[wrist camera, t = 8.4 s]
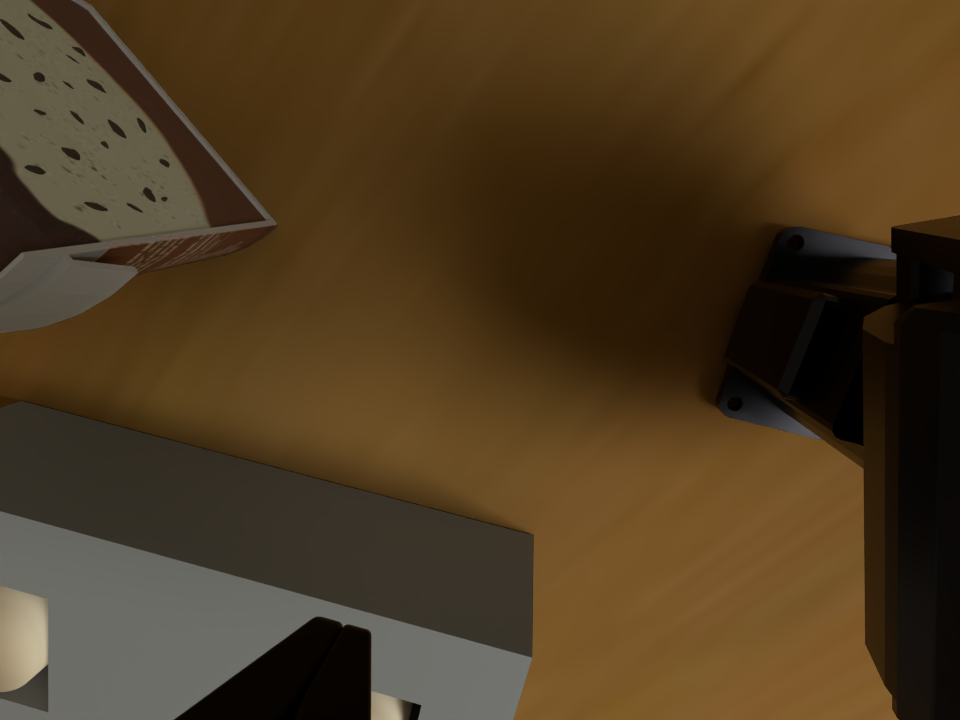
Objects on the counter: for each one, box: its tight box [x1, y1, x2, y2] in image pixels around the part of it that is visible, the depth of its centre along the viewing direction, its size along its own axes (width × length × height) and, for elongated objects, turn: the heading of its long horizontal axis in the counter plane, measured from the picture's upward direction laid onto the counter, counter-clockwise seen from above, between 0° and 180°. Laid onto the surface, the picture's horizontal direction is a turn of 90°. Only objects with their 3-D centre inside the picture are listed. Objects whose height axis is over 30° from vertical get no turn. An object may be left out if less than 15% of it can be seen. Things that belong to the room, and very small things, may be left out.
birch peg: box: [0, 586, 48, 692], centre depth 19 cm, size 4×4×6 cm
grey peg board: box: [0, 401, 534, 720], centre depth 19 cm, size 22×10×6 cm, turn 77°
